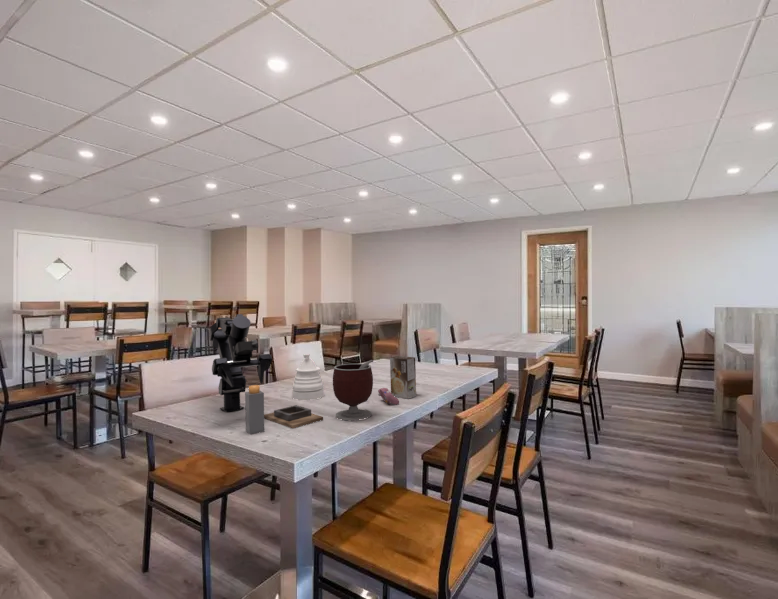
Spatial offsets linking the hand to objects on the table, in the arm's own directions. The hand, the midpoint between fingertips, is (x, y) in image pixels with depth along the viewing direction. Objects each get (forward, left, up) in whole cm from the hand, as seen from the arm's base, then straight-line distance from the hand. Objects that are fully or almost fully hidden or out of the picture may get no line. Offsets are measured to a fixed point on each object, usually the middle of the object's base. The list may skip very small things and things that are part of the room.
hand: (247, 384), depth 133 cm
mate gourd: (+19, +29, -13) cm, 38 cm away
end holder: (+5, +13, -13) cm, 20 cm away
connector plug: (+7, -2, -13) cm, 15 cm away
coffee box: (+13, +61, -13) cm, 64 cm away
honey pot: (-17, +35, -13) cm, 41 cm away
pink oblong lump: (+15, +50, -13) cm, 54 cm away
